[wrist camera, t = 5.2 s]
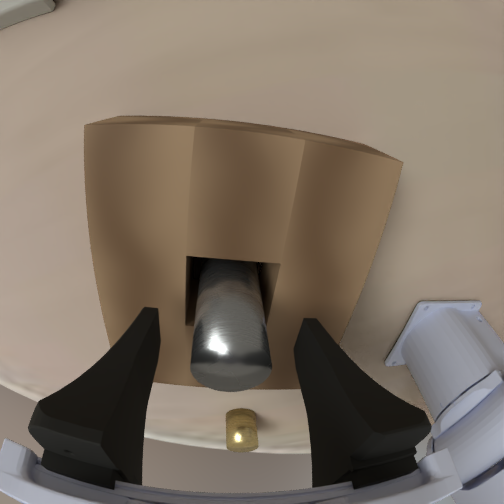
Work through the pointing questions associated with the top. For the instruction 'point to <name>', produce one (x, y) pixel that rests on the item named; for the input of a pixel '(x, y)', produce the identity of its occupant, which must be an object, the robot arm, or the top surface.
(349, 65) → the top surface
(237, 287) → the tall pin
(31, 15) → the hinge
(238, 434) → the short pin
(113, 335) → the hole block
